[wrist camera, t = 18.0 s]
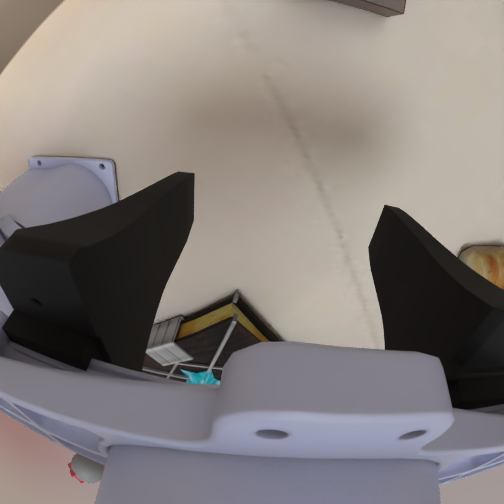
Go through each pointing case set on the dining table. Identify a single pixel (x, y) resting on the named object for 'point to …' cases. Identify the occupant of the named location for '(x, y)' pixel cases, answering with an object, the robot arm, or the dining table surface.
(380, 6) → the riser
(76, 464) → the molecule model
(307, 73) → the dining table surface
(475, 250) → the pastry
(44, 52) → the dining table surface
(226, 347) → the book
